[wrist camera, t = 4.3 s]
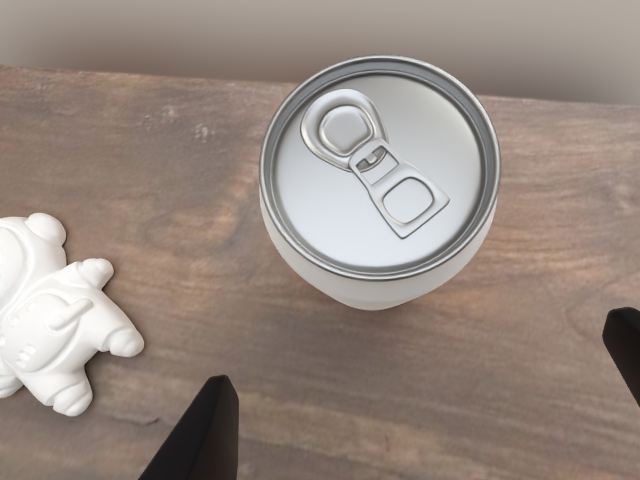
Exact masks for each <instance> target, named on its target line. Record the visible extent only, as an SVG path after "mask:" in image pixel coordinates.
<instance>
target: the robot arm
mask: <svg viewBox="0 0 640 480" xmlns="http://www.w3.org/2000/svg"><path fill="white" fill-rule="evenodd" d="M602 337H603V342H604V344H605V346H606V348H607V350H608V352H609V353H610V355H611V357H612V359H613V361H614V362H615V364H616V366H617V368H618V370H619V371H620V373H621V375H622V377H623V379H624V380H625V382H626V384H627V386H628V388H629V389H630V391H631V393H632V395H633V397H634V398H635V400H636V402H637V403H638V405H639V407H640V311H639V310H636V309H634V308H631V307H624V308H618V309H613V310H611V311H609V312H608V315H607V319H606V322H605V326H604V330H603V334H602ZM238 423H239V400H238V396H237V393H236V391H235V389H234V387H233V385H232V383H231V381H230V379H229V378H228V376H227V375H219V376H213V377H210V378H209V379H208V380H207V382H206V383H205V384H204V386H203V387H202V389H201V390H200V392H199V393H198V394H197V396H196V397H195V399H194V400H193V402H192V403H191V404H190V406H189V407H188V409H187V410H186V412H185V413H184V414H183V416H182V417H181V419H180V420H179V422H178V423H177V425H176V426H175V427H174V429H173V430H172V432H171V433H170V435H169V436H168V437H167V439H166V440H165V442H164V443H163V445H162V446H161V447H160V449H159V450H158V452H157V453H156V455H155V456H154V458H153V459H152V460H151V462H150V463H149V465H148V466H147V468H146V469H145V470H144V472H143V473H142V475H141V476H140V478H139V479H138V480H236V479H237V468H238Z"/></svg>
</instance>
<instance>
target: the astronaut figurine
mask: <svg viewBox="0 0 640 480" xmlns="http://www.w3.org/2000/svg"><path fill="white" fill-rule="evenodd" d="M65 240H66V232H65V229H64V227H63V226H62V224H61V222H60V221H58V220H57V219H56V218H54V217H52V216H50V215H47V214H44V213H35V214H32V215H30V216H29V218H25V217H6V218H1V219H0V398H5V397H8V396H10V395H12V394H13V393H15V392H16V391H17V390H19V389H20V388H21V387H22V386H23V385H25V386H26V387H27V388H28V390H29V391H30V392H31V393H32V394H33V395H34V396H35V397H36V398H37V399H38V400H39V401H40V402H41V403H43V404H44V405H46V406H53V409H54V410H55V411H56V412H59V413H62V414H65V415H67V416H77V415H79V414H81V413H83V412H84V411H85V410H86V409H87V407H88V406H89V405H90V403H91V401H92V397H93V394H92V390H91V387H90V383H89V381H88V379H87V377H86V373H85V369H84V365H85V364H86V362H87V361H88V360H89V359H90V358H91V357H92V356H93V355H94V354H95V353H96V352H97V351H99V350H100V351H101V352H105V351H108V350H110V352H111V354H113V355H117V356H124V357H132V356H135V355H137V354H138V353H140V352H141V351H142V350H143V348H144V340H143V338H142V336H141V334H140V333H139V332H138V331H137V330H136V328H135V326H134V325H133V323H132V322H131V321H130V319H129V318H128V317H127V316H126V315H125V313H124V312H123V311H122V310H121V309H120V308H119V307H118V306H117V305H116V304H115V303H114V302H112V301H111V300H110V299H109V298H108V297H107V296H106V295H105V294H104V292H102V288H103V287H104V285H105V284H106V283H107V282H108V280H109V279H110V278H111V277H112V276H113V274H114V269H113V267H112V265H111V263H110V262H109V261H107V260H105V259H95V258H91V259H87V260H85V261H84V262H83V263H82V262H74V263H72V264H70V265H68V266H67V263H66V255H65V251H64V249H63V248H62V245H63V243H64V242H65Z"/></svg>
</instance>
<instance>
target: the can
mask: <svg viewBox="0 0 640 480" xmlns="http://www.w3.org/2000/svg"><path fill="white" fill-rule="evenodd" d="M500 178H501V154H500V147H499V142H498V138H497V135H496V132H495V129H494V126H493V124H492V122H491V120H490V118H489V116H488V114H487V112H486V110H485V109H484V107H483V106H482V104H481V103H480V101H479V100H478V99H477V98H476V96H475V95H474V94H473V93H472V92H471V91H470V90H469V89H468V88H467V87H466V86H465V85H464V84H463V83H461V82H460V81H459V80H458V79H456V78H455V77H454V76H452V75H451V74H449V73H448V72H446V71H444V70H442V69H441V68H439V67H437V66H434V65H432V64H430V63H427V62H425V61H421V60H418V59H415V58H411V57H406V56H400V55H390V54H375V55H364V56H358V57H353V58H349V59H346V60H342V61H340V62H337V63H334V64H332V65H330V66H327V67H325V68H323V69H321V70H319V71H318V72H316V73H314V74H313V75H311V76H310V77H308V78H307V79H306V80H304V81H303V82H302V83H300V84H299V85H298V86H297V87H296V88H295V89H294V90H293V91H292V92H291V93H290V94H289V95H288V96H287V97H286V98H285V100H284V101H283V102H282V103H281V105H280V106H279V108H278V109H277V111H276V112H275V114H274V116H273V117H272V119H271V121H270V123H269V125H268V128H267V130H266V133H265V136H264V139H263V142H262V147H261V152H260V159H259V181H260V205H261V211H262V215H263V219H264V222H265V225H266V228H267V231H268V233H269V235H270V237H271V239H272V241H273V243H274V245H275V247H276V248H277V250H278V251H279V253H280V254H281V256H282V257H283V258H284V260H285V261H286V262H287V263H288V264H289V265H290V267H291V268H292V269H293V270H294V271H295V272H297V273H298V274H299V275H300V276H301V277H302V278H303V279H305V280H306V281H307V282H308V283H310V284H311V285H313V286H314V287H316V288H317V289H319V290H320V291H322V292H323V293H325V294H327V295H328V296H330V297H332V298H333V299H335V300H337V301H339V302H341V303H343V304H345V305H347V306H350V307H353V308H357V309H362V310H382V309H387V308H391V307H394V306H397V305H400V304H403V303H405V302H408V301H410V300H413V299H415V298H417V297H420V296H422V295H424V294H426V293H428V292H430V291H432V290H434V289H436V288H437V287H439V286H441V285H442V284H444V283H445V282H447V281H448V280H450V279H451V278H452V277H453V276H455V275H456V274H457V273H458V272H459V271H460V270H461V269H462V268H463V267H464V266H465V265H466V264H467V263H468V262H469V261H470V260H471V258H472V257H473V256H474V255H475V253H476V252H477V250H478V249H479V248H480V246H481V244H482V243H483V241H484V239H485V237H486V235H487V233H488V231H489V228H490V226H491V223H492V220H493V217H494V213H495V208H496V203H497V194H498V190H499V185H500Z"/></svg>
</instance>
